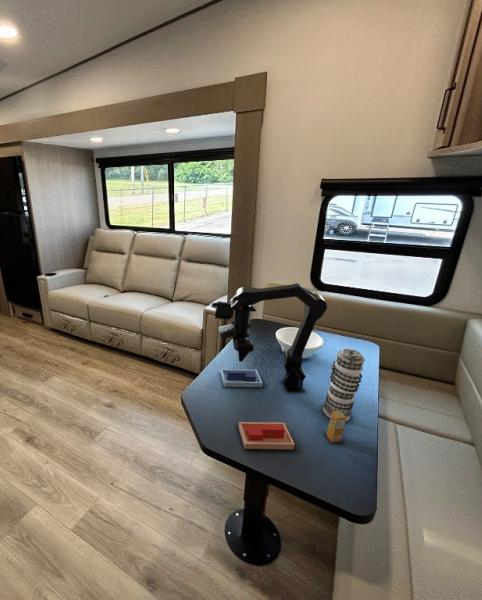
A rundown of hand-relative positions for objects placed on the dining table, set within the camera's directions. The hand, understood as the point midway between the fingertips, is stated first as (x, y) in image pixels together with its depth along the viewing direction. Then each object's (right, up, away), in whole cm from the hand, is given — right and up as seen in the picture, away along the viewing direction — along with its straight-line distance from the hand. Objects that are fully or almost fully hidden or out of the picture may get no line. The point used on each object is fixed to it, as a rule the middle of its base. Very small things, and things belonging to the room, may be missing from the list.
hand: (237, 355), depth 127 cm
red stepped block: (+3, -22, -25) cm, 33 cm away
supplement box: (+25, -23, -25) cm, 42 cm away
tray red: (+3, -23, -24) cm, 33 cm away
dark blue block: (+2, -11, +4) cm, 12 cm away
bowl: (+35, -3, +25) cm, 43 cm away
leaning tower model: (+32, -19, -14) cm, 39 cm away
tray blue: (+2, -11, +4) cm, 12 cm away
